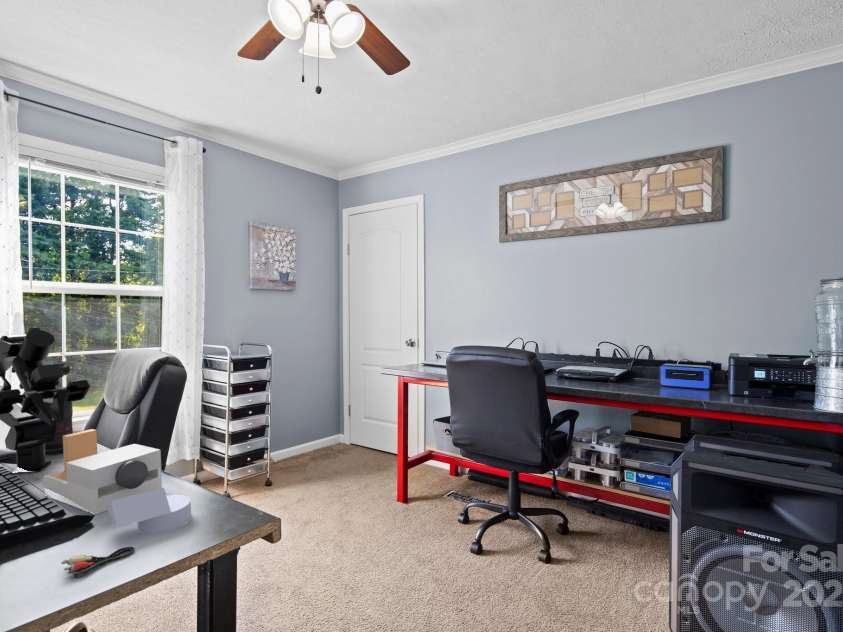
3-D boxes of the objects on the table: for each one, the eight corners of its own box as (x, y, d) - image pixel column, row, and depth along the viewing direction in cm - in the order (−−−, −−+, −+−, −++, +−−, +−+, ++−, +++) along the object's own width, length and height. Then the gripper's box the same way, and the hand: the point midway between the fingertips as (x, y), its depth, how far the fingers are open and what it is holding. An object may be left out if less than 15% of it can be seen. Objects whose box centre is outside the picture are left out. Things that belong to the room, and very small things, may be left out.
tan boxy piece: (50, 479, 105) (48, 439, 104) (105, 462, 115) (104, 426, 114) (69, 485, 101) (67, 444, 100) (125, 468, 111) (123, 430, 111)
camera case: (44, 496, 104) (42, 455, 103) (111, 474, 116) (110, 438, 116) (100, 517, 93) (98, 471, 93) (167, 490, 105) (165, 450, 105)
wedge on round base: (118, 547, 82) (197, 522, 90) (116, 509, 81) (196, 487, 90) (108, 528, 88) (183, 507, 97) (106, 493, 88) (182, 474, 97)
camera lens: (54, 457, 129) (52, 403, 129) (30, 456, 131) (28, 402, 130) (81, 448, 137) (79, 397, 137) (58, 446, 139) (56, 396, 138)
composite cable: (133, 549, 81) (133, 535, 81) (138, 561, 78) (137, 546, 77) (61, 571, 75) (60, 556, 75) (62, 585, 71) (61, 569, 71)
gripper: (-6, 356, 107) (19, 409, 102) (84, 348, 124) (110, 393, 119) (-19, 388, 111) (4, 441, 106) (70, 376, 128) (94, 421, 123)
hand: (57, 422), depth 113 cm, fingers closed
